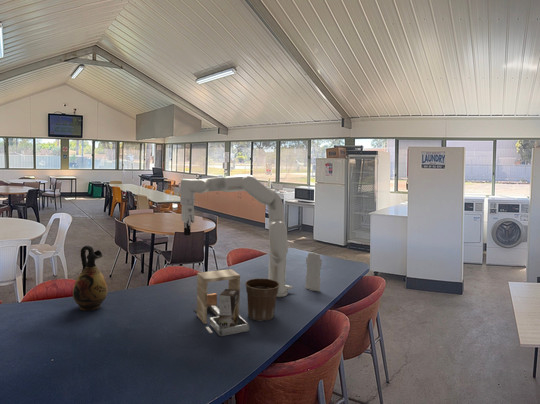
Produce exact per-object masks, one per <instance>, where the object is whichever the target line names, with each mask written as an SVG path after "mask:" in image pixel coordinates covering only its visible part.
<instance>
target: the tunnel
mask: <svg viewBox="0 0 540 404" xmlns="http://www.w3.org/2000/svg"><path fill="white" fill-rule="evenodd" d="M196 278H197V280H196V281H197V282H196V283H197V284H196V286H197V287H196V288H197V289H196V292H197V293H196V295H197V296H196V309H197V312H196V316H197V317H198V318H199V320H200V321H201V322H202V324H204V325H206V324H207V323H208V311H207V294H208V283H214V282H221V281H228V288H227V289H235V290H239V298H238V315H240V300H241V299H240V297H241V295H240V292H241V291H240V290H241V275H240V274H239V273H237V272H236V271H235V270H233V269H232V268H231V269H230V268H229V269H221V270H220V269H219V270H212V271H211V270H210V271H203V272H197V276H196Z"/></svg>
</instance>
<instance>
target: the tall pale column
mask: <svg viewBox="0 0 540 404" xmlns="http://www.w3.org/2000/svg"><path fill="white" fill-rule="evenodd" d="M322 263H323V261H322V259H321V255H320V254H319V253H316V252H308V253H307V256H306V257H305V264H306V275H305V289H307V290H308V291H314V292H320V291H321V269H322Z"/></svg>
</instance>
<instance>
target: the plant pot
mask: <svg viewBox="0 0 540 404" xmlns="http://www.w3.org/2000/svg"><path fill="white" fill-rule="evenodd" d="M244 283H245V285H244V286H245V287H246V295H247V313H248V314H247V316H248V317H249V319H250V320H253V321H258V322H263V321H265V322H266V321H270V320H272V319H273V318H274V317H275V311H276V310H275V308H276V301H277V297H276V296H277V293H278V287H279V286H280V284H279V283H278V282H277V281H274V280H271V279H268V278H262V277H261V278H260V277H259V278H251V279H248V280H246V281H245V282H244Z"/></svg>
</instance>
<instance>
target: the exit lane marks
mask: <svg viewBox="0 0 540 404" xmlns="http://www.w3.org/2000/svg"><path fill="white" fill-rule="evenodd" d="M205 329H206V330H207V331H208V333H209V334H213V330H212V329H211V328H210V327H209V326H205Z"/></svg>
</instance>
